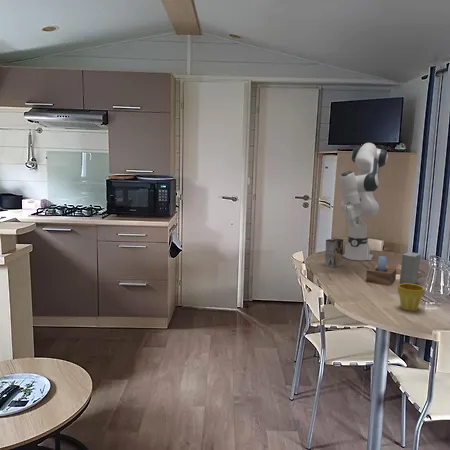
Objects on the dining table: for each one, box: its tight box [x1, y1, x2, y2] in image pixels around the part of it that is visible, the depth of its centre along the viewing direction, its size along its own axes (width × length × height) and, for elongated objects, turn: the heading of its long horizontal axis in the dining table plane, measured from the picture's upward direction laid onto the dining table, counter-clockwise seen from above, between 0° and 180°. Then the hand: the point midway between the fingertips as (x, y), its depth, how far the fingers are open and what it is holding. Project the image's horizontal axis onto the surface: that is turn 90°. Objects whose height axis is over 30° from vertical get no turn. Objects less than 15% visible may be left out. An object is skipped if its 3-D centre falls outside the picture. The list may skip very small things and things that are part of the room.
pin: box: [377, 255, 388, 272], centre depth 229 cm, size 4×4×12 cm
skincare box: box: [399, 251, 422, 284], centre depth 225 cm, size 8×7×16 cm
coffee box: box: [324, 238, 344, 268], centre depth 262 cm, size 9×6×16 cm
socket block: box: [365, 266, 397, 287], centre depth 229 cm, size 12×12×6 cm
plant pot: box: [397, 283, 425, 312], centre depth 187 cm, size 10×10×10 cm
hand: (355, 225), depth 240 cm, fingers open, 8 cm apart
